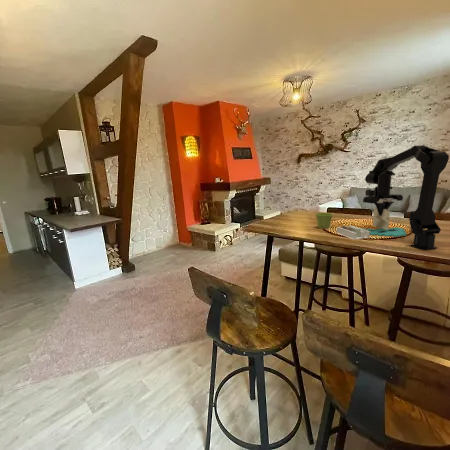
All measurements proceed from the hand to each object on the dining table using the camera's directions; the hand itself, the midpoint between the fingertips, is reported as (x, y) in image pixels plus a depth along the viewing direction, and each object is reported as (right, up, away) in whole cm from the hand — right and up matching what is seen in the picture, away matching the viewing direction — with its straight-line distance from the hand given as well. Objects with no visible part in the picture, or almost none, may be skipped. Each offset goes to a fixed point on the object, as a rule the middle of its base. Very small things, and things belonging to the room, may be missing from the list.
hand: (381, 215), depth 131 cm
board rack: (-16, -11, -1) cm, 20 cm away
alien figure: (+2, -10, +2) cm, 10 cm away
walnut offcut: (-18, -10, +1) cm, 21 cm away
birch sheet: (0, -6, +2) cm, 7 cm away
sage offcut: (-16, -10, -3) cm, 19 cm away
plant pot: (-23, -7, +18) cm, 30 cm away
